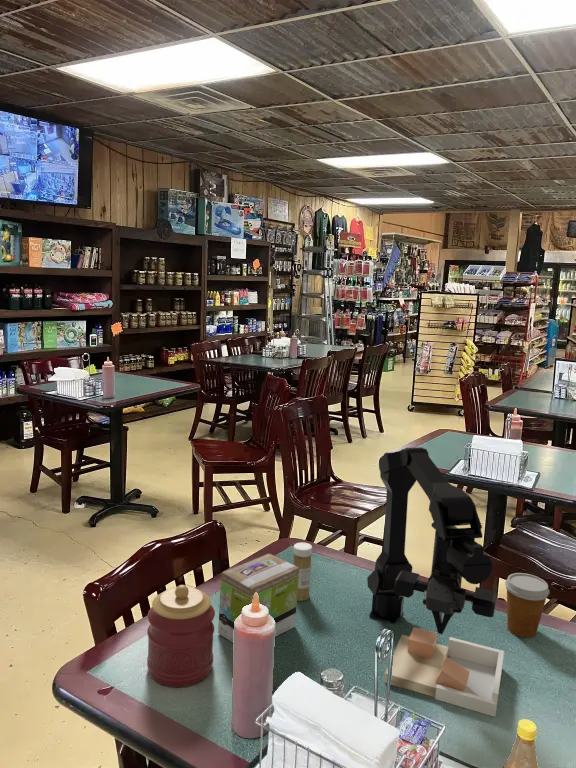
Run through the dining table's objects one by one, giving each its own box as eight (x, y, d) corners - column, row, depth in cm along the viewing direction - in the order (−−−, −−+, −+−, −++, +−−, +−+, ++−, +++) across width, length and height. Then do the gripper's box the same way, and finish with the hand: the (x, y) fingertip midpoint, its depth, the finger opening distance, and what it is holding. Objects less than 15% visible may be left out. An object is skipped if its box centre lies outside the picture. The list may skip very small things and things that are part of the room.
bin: (435, 699, 120) (436, 680, 120) (448, 654, 135) (449, 637, 134) (495, 716, 116) (497, 697, 115) (502, 668, 131) (504, 651, 130)
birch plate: (384, 682, 124) (385, 673, 124) (401, 642, 138) (402, 634, 138) (435, 697, 121) (436, 688, 120) (447, 655, 134) (448, 646, 134)
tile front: (435, 682, 122) (442, 670, 121) (440, 668, 126) (446, 656, 125) (458, 697, 120) (466, 686, 119) (463, 683, 125) (469, 671, 124)
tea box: (248, 654, 131) (251, 588, 129) (217, 634, 138) (219, 571, 135) (297, 627, 142) (300, 565, 140) (265, 609, 149) (268, 550, 146)
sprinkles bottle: (306, 591, 158) (309, 541, 156) (311, 601, 154) (314, 549, 151) (289, 592, 157) (291, 542, 155) (293, 602, 153) (296, 550, 150)
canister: (216, 650, 132) (219, 571, 129) (208, 690, 119) (211, 604, 116) (154, 647, 132) (155, 568, 129) (139, 687, 119) (140, 601, 116)
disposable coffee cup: (520, 645, 139) (527, 595, 137) (491, 623, 148) (496, 575, 146) (553, 637, 143) (559, 588, 141) (522, 615, 152) (528, 569, 150)
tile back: (407, 652, 131) (408, 639, 131) (412, 639, 136) (413, 627, 135) (431, 658, 129) (433, 645, 129) (436, 646, 134) (437, 633, 133)
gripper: (390, 564, 116) (383, 641, 119) (495, 588, 110) (486, 669, 112) (403, 542, 127) (396, 613, 129) (500, 562, 120) (491, 637, 122)
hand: (440, 632), depth 123 cm, fingers closed
